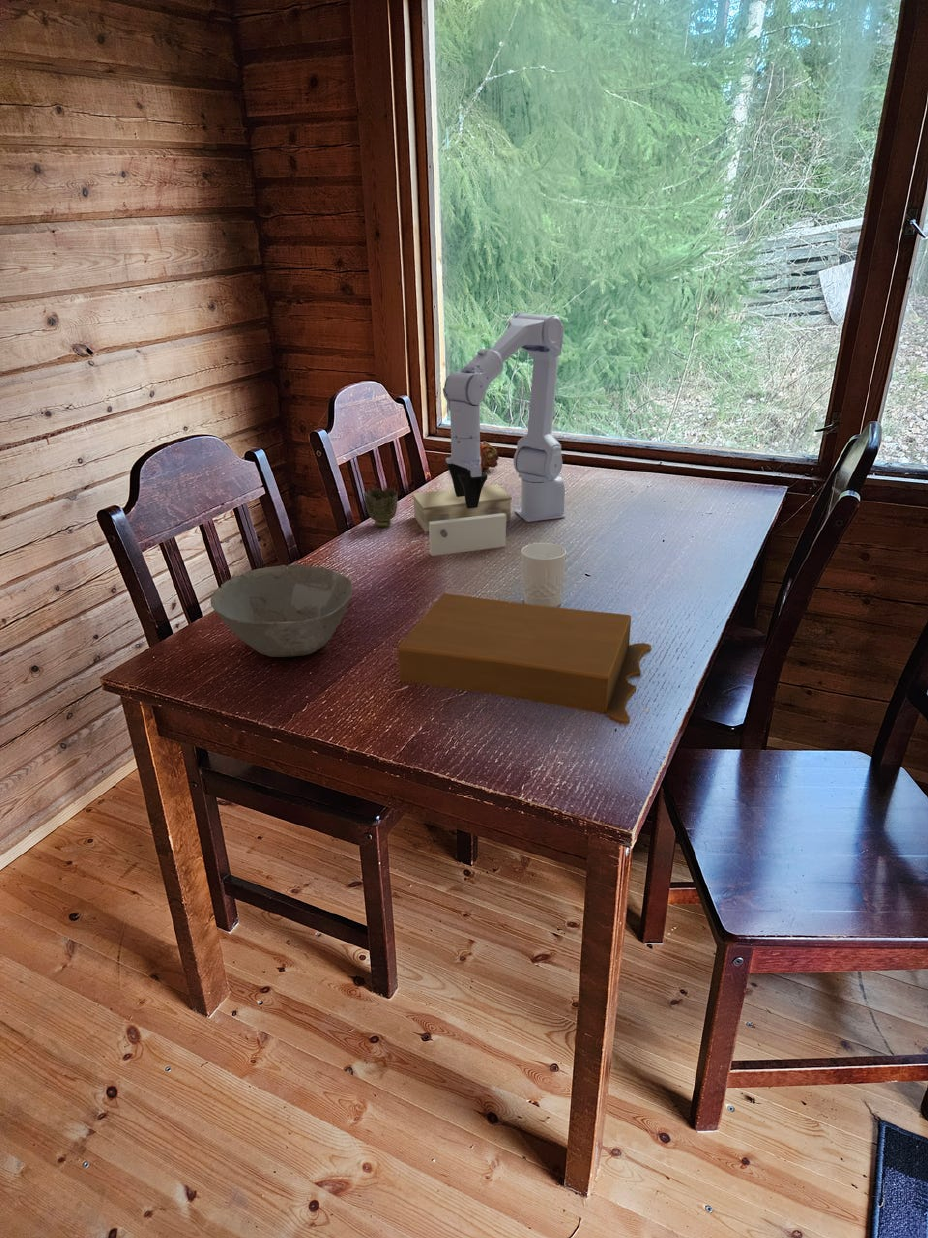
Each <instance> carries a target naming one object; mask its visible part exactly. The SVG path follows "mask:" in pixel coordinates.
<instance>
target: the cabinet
mask: <svg viewBox="0 0 928 1238" xmlns="http://www.w3.org/2000/svg"><path fill="white" fill-rule="evenodd" d="M411 495H412V499H413V515H414V516H413V517H414V519H415V520H416V521H417V523H418V524H419V526H420V527H421V528H422V530H423V531H424V532H425V533H426V532H429V522H432V521H441V520H449V519H458V518H466V517H474V516H483V515H491V514H500V513H504V514H505V515H506V530H507V528H508V526H507V525H508V522H511V516H512V515H511V514H512V513H511V508H512V507H511V505H512V503H511V502H512V500H513V499H512V496H511V495H509V493H507V491H505V490H504V489H503V488H502V487H501V486H499V484H490V485H489V484H487V485H483V488H482V490H481V494H480V499H479V503H478V507H477V508H469V509H468V508H467V506H466V503H465V497H464V496H462V497H457V496H456V493H455V489H454V488H452V489H450V488H449V489H443V490H434V491H426V492H416V493H412V494H411Z"/></svg>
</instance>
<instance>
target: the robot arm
mask: <svg viewBox="0 0 928 1238" xmlns="http://www.w3.org/2000/svg"><path fill="white" fill-rule="evenodd" d="M564 329H565V326H564V324H563V323H562V320H561V319H560V317H559V316H558V315H556V314H537V313H536V314H535V313H533V314H532V313H524V312H516V313H515V314H514V315H513V317H511V318H510V319H509V320H508V323H507V330H506V331H505V332H504V333H503V335H501V337H500V338H499V339H498V340H497V341H496V343H495V344H494V345H493V346H492V347H491V349H490V348H484V349H482V348H481V349H479V350H478V351H477V354H476V355H475V356H474V357H473V358H472V359H471V360H470V361H469V362H468V363H466V364H465V365H464V366H463V368H462V369H460V371H453V372H452V373H451V374H449V375H448V376H447V377H446V378H445V380H444V384H443V385H444V386H443V388H442V394H443V397H444V399H445V400H446V404H447V409H448V411H449V412H450V413H449V414H450V415H449V416H450V418H449V419H450V450H451V455H450V457H446V458H445V465H446V467H447V469H448V472H449V474H450V476H451V481H452V484H453V489H455V493H456V496H457V497H462V496H464V497H465V503H466V506H467V508H468V509H469V508H477V507H478V503H479V499H480V494H481V490H482V488H483V486H485V483H486V481H487V480H488V474H487V473H486V472H482V471H481V466H480V465H481V456H480V442H481V417H480V415H481V414H480V413H481V412H480V411H481V408H480V404H481V403H482V402H483V401H484V399H485V398H486V397H485V396H486V394H487V391H488V390H489V387H490V384H492V382H494V381H495V379H497V377H499V375H501V373H502V372H503V370H504V363H505V361H508V359H510V358H511V357H512V356H513V355H514V354H515V353H516V352H518V351H519V350H520V349H522V350H523V351H524V352H526V353H528V355H529V357H531V359H532V373H531V374H532V377H531V387H530V399H529V412H528V423H527V433H526V434H525V435H524V436H523V437H521V438H520V439H519V440H518V441H517V447H516V450H515V453H514V456H513V467H514V468H513V469H514V470H515V472H516V473H518V477H519V478H520V479H521V489H520V491H521V495H520V496H521V497H520V498H521V499H520V500H521V502H520V503H521V505H520V508H515V509H514V510H515V511H514V512H515V513H517V514H518V515H519V517H521V519H523V520H524V521H525V522H527V523H530V522H538V521H546V520H547V521H548V520H554V519H562V518H565V517H566V515H565V497H566V495H565V493H566V492H565V491H566V488H565V483H564V480H563V478H562V477H561V475H559V474H560V473H561V471H562V468H563V458H562V444H561V443H560V442H559V441H558V440H557V439H556V438H555V436H553V435H552V429H553V418H554V409H555V408H554V407H555V398H556V397H555V396H556V387H557V377H558V376H557V375H558V366H559V365H558V363H559V357H560V356H561V355H562V352H563V351H562V350H563V341H564V339H563V338H564Z"/></svg>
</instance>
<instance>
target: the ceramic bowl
mask: <svg viewBox="0 0 928 1238" xmlns="http://www.w3.org/2000/svg"><path fill="white" fill-rule="evenodd" d="M353 591H354V585H353V583H352V580H351V579H350V578H349V577H348V576H346V575H345V574H343V573H340V572H338V571H336V570H333V569H330V568H326V567H322V566H315V565H313V566H312V565H309V564H300V563H293V564H287V565H285V564H282V565H277V566H268V567H260V568H256V569H252V570H248V571H246V572H243V573H241V574H240V575H239V574H238V575H235V576H233V577H232V578H231V577H230V579H227V580H226V581H225V582H223V583H222V584H220V587H217V588H216V589H215V590H214V591H213V592H212V595H211V597H210V605H211V608H212V609H213V610H214V612H215V613H216V614H217V615H218V616H219V617H220V619H222V620H223V621H222V622H224V623H225V625H226V626H227V627H228V629H230V630H231V631H232V633H233V634H235V636H236V637H238V639H240V640H241V641H243V642H244V643H245V644H246V645H248V646H249V647H251V649H254V650H255V651H257V652H258V653H259V654H261V655H263V656H267V657H271V658H285V657H286V658H290V657H300V656H301V657H302V656H308V655H311V654H313V653H315V652H316V651H319V649H321V648H323V647H325V646H326V644H327V643H328V641H330V639H331V638H332V637H333V635H334V633H335V631H337V627H338V626H339V625H340V623H341V621H342V619H343V617H344V615H345V613H346V611H347V609H348V605H349V603H350V600H351V598H352V595H353Z"/></svg>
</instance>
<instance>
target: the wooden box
mask: <svg viewBox="0 0 928 1238" xmlns="http://www.w3.org/2000/svg"><path fill="white" fill-rule="evenodd" d="M631 625H632V616H631V615H630V614H625V613H623V614H622V613H613V612H603V611H595V610H594V611H593V610H584V609H583V610H582V609H575V608H566V607H559V606H558V607H549V606H540V605H531V604H525V603H524V602H523V603H522V602H515V601H512V602H509V601H507V600H500V599H490V598H484V597H476V596H471V595H470V596H469V595H464V594H463V595H461V594H456V593H455V594H454V593H447V592H443V593H442V594H441V595H440V596H439V598H438V599H437V600H436V601H435V603H433V605H432V606H431V607H430V608H429V609H428V611H426V613H425V614H424V615H423V616H422V618H420V620H419V621H418V622H417V624H415V626H414V627H413V628H412V629H411V631H410V632H409V633H408V634H407V635H406V636H405V638H403V640H402V641H401V642H400V643H399V645H398V646H397V661H398V663H397V664H398V676H399V681H401V682H407V683H413V684H419V685H420V684H421V685H426V686H434V687H440V688H449V689H454V690H461V691H468V692H475V693H482V694H487V695H493V696H495V695H496V696H501V697H506V698H507V697H508V698H513V699H519V700H524V701H529V702H530V701H531V702H534V703H535V702H536V703H541V704H548V705H551V706H552V705H553V706H557V707H563V708H568V709H574V710H580V711H586V712H590V713H592V712H593V713H597V714H601V715H605V716H606V717H607V718H609V719H610V720H611V721H614V722H615V723H618V724H624V725H625V724H629V723H630V719H631V717H630V715H629V713H628V711H627V710H626V704H627V702H628V700H629V698H630V697H631V696H632V695H633V694H634V693H635V692H636V690H637V686H636V685H634V684H631V683H630V682H629V681H628V680H629V679H630V678H633V677H641V676H642V675H641V674H642V671H641V667H640V661H641V658H642V657H643V656H644V655H645V654H647V653H648V652H650V651H651V649H652V644H649V643H645V642H641V643H640V642H638V643H633V644H630V642H631V641H630V638H631Z"/></svg>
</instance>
